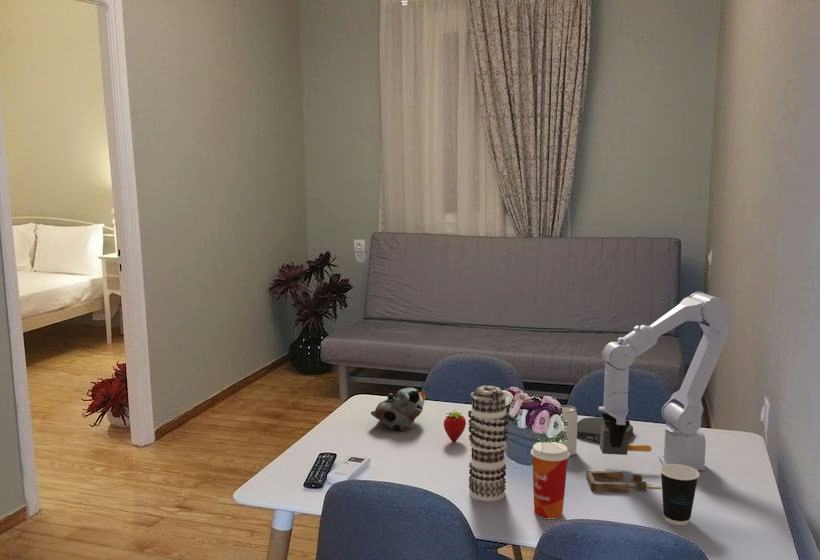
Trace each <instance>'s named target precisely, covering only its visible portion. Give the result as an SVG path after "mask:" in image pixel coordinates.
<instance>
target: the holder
mask: <svg viewBox="0 0 820 560" xmlns="http://www.w3.org/2000/svg"><path fill="white" fill-rule="evenodd" d="M623 477H624V473H623V471H612V470H611V471H609V470H608V471H606V470H605V471H604V470H586V475H585V478H586V481H587V484H588V487H589V489H590V491H591V492H611V493H613V492H616V493H629V492H630V490H629V488H636V491H647V489H662V484H660V483H647V482H646V481H643V475H642V474H640V473H638V474H637V473H633V474H632V480H631V481H632V482H623V480H624V478H623ZM603 481H604V482H603ZM607 481H609V482H607ZM610 481H611V482H610ZM612 481H621V482H612Z"/></svg>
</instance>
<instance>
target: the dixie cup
mask: <svg viewBox="0 0 820 560" xmlns="http://www.w3.org/2000/svg"><path fill="white" fill-rule="evenodd" d="M659 472H660V477H661V487H662V488H661V492H662V494H661V495H662V506H663V507H662V509H663V512H662V513H663V515H664V519H665V521H666V522H667V523H669V524H672V525H675V526H686V525H688V524H689V521H690V519H691V517H692V511H693V506H694V501H695V494H696V488H697V485H698V484H697V483H698V479H699V477H700V476H701V475H700V471H699V470H696V469H694V468H692V467H689V466H686V465H680V464H667V465H662V466H660V468H659Z"/></svg>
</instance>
